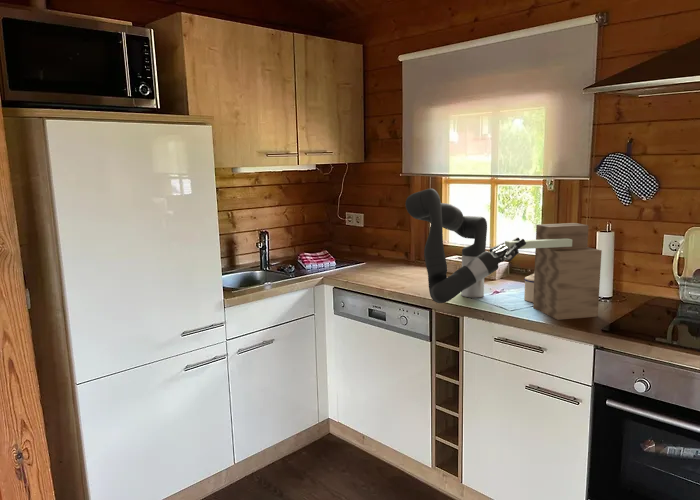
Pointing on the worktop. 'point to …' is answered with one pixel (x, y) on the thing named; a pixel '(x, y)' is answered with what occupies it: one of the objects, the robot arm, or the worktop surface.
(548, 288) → the brown wooden tall block
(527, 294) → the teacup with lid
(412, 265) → the worktop surface
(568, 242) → the sage slat
